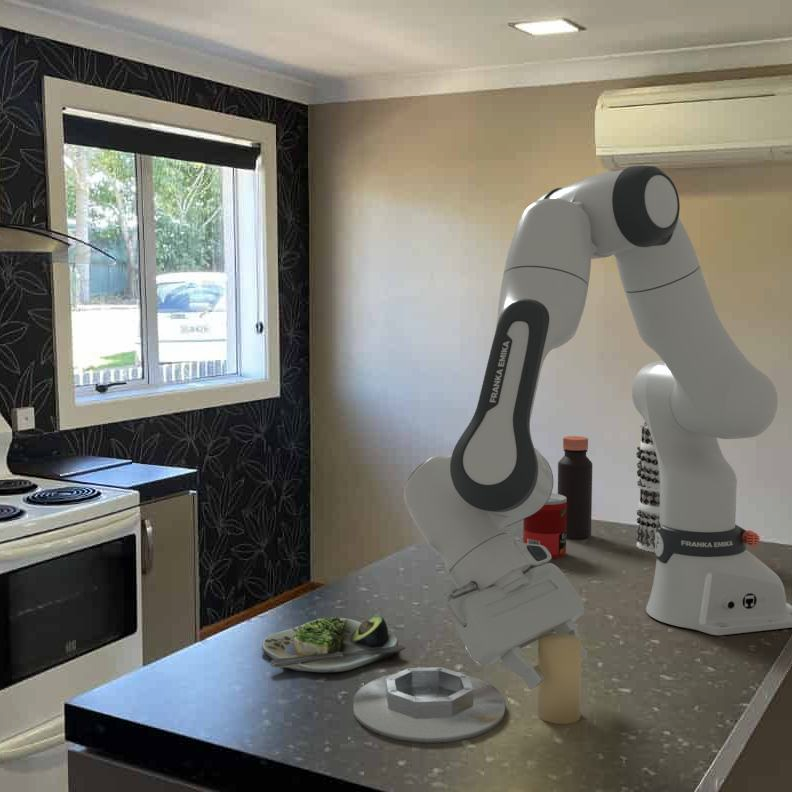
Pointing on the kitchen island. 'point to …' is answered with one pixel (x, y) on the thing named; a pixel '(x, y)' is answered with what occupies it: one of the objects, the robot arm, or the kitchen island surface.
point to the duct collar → (429, 705)
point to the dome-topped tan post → (560, 678)
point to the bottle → (576, 486)
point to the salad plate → (332, 645)
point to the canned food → (548, 526)
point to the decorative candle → (647, 492)
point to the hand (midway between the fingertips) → (560, 672)
